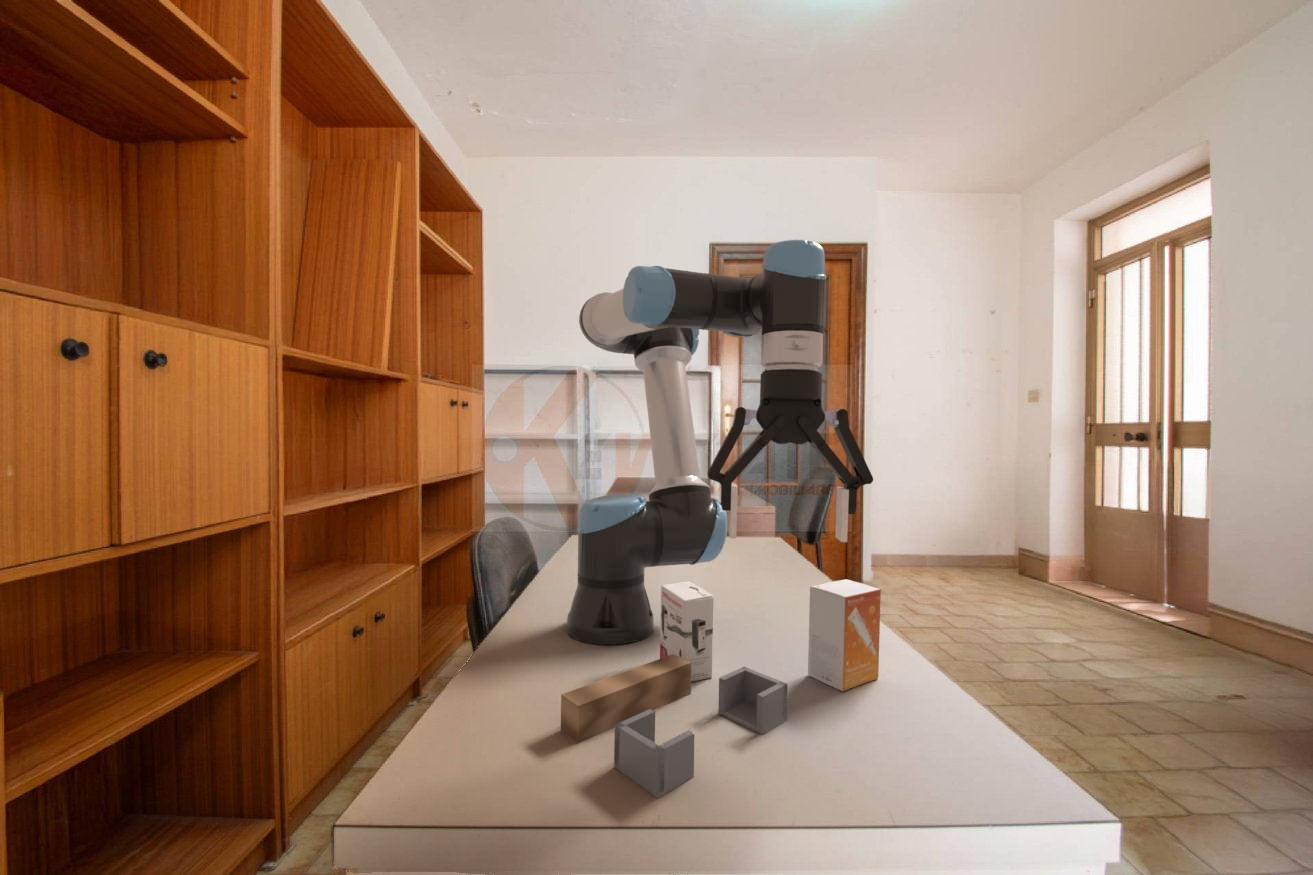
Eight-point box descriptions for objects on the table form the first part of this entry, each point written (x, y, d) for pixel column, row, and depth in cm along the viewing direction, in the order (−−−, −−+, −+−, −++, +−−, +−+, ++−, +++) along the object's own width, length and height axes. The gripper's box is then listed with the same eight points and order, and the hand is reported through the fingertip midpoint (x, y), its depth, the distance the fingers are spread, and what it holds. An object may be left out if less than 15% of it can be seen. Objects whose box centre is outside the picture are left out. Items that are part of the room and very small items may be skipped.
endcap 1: (614, 766, 58) (614, 724, 58) (649, 748, 61) (650, 708, 61) (657, 797, 53) (658, 752, 53) (693, 776, 56) (694, 733, 56)
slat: (577, 745, 62) (578, 705, 62) (560, 732, 65) (561, 694, 65) (690, 695, 74) (691, 662, 74) (672, 686, 77) (672, 654, 77)
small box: (843, 693, 75) (845, 596, 75) (806, 675, 80) (808, 585, 80) (880, 679, 80) (882, 588, 79) (843, 663, 85) (844, 577, 85)
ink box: (657, 660, 85) (659, 583, 85) (686, 655, 87) (687, 580, 87) (682, 684, 77) (684, 599, 77) (713, 678, 79) (715, 595, 79)
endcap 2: (718, 712, 69) (719, 677, 69) (743, 700, 73) (744, 666, 73) (762, 734, 64) (762, 696, 64) (786, 719, 68) (787, 683, 68)
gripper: (691, 365, 67) (687, 541, 68) (904, 368, 66) (898, 547, 66) (691, 370, 74) (687, 529, 75) (882, 373, 73) (877, 535, 74)
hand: (786, 538), depth 71 cm, fingers open, 13 cm apart
